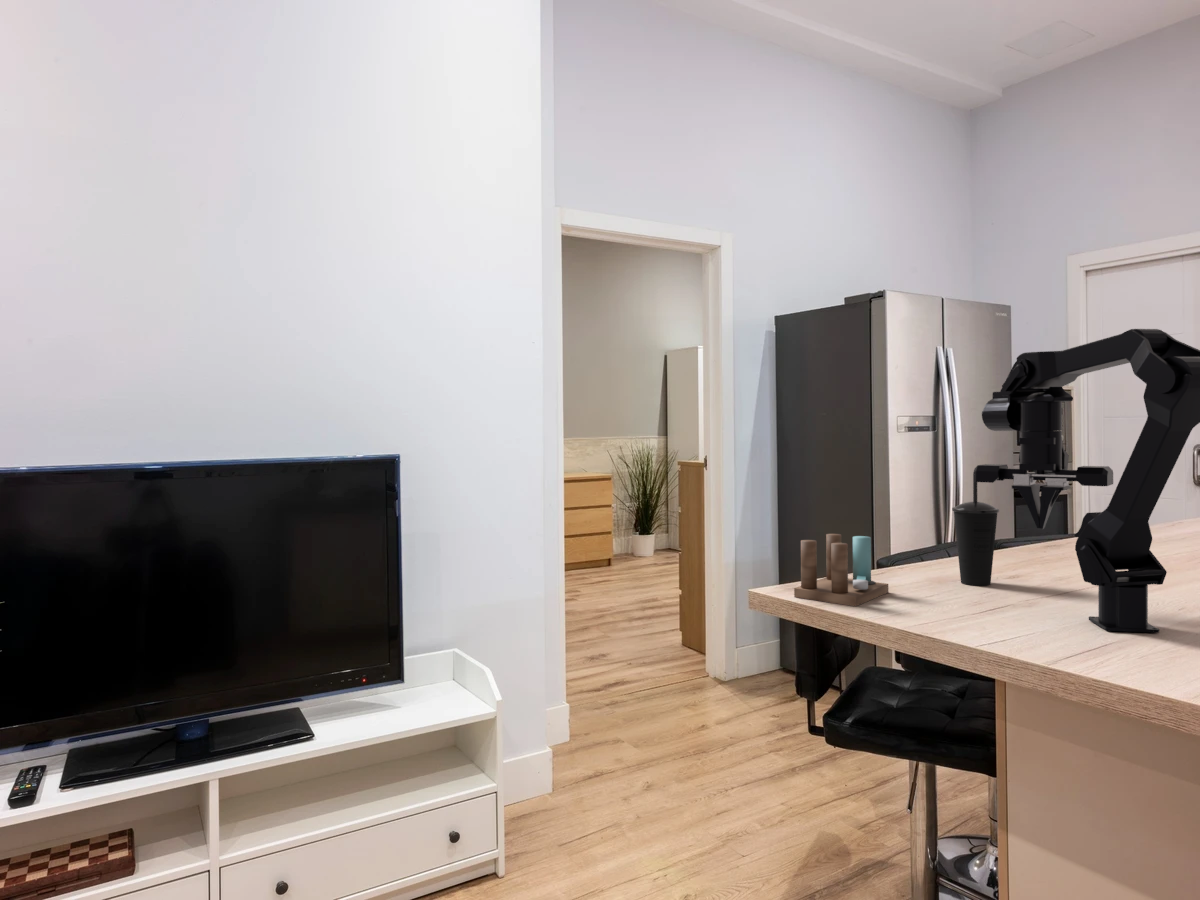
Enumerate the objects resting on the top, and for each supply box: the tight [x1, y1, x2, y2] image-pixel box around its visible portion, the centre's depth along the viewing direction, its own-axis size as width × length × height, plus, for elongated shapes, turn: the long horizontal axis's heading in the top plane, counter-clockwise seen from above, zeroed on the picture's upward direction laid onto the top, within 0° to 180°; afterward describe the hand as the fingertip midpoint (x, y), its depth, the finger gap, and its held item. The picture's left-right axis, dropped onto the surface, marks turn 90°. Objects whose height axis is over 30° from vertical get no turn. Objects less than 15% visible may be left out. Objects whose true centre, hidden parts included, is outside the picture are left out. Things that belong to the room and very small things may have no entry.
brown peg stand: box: [793, 533, 889, 607], centre depth 130 cm, size 11×13×10 cm
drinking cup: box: [951, 481, 1000, 587], centre depth 137 cm, size 8×8×20 cm
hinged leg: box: [852, 535, 872, 590], centre depth 129 cm, size 10×3×8 cm, turn 159°
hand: (1040, 528), depth 121 cm, fingers closed
